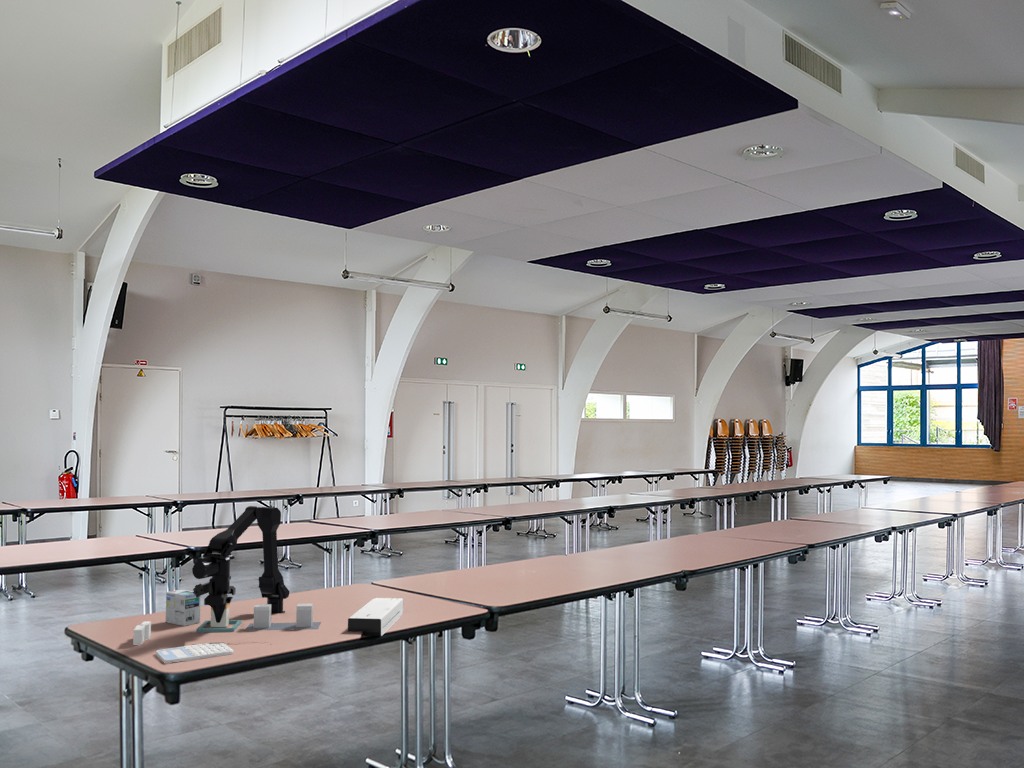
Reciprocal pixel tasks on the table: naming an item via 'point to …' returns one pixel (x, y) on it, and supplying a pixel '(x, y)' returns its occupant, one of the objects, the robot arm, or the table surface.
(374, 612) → the laminator
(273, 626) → the board
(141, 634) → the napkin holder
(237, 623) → the teal tray
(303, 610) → the block
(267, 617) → the block
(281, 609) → the robot arm
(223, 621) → the block
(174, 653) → the calculator
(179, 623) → the light bulb box
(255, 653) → the table surface
